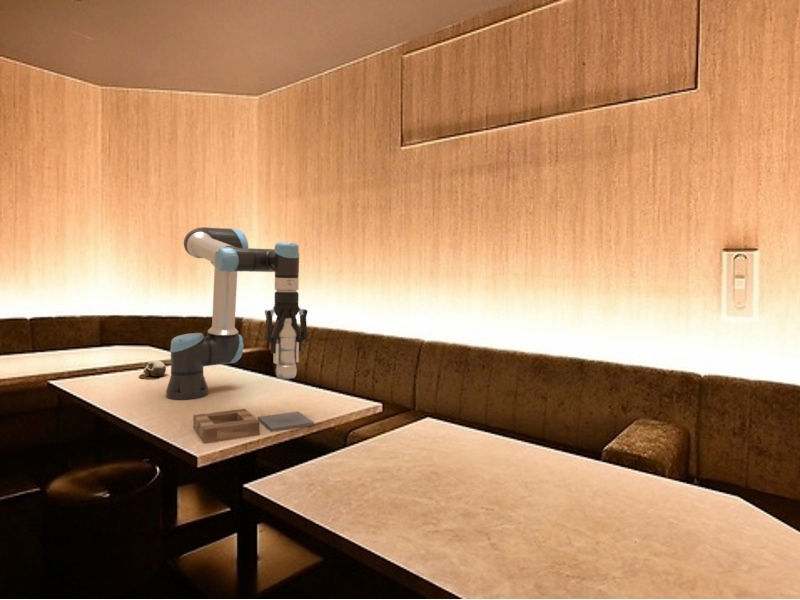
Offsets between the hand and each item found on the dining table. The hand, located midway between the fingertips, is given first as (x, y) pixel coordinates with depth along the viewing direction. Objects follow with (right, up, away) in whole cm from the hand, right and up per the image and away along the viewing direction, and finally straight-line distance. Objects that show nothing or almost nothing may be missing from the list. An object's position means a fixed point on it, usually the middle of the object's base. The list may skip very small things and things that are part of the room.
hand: (286, 362), depth 172 cm
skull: (-72, -14, +64) cm, 97 cm away
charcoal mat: (0, -20, +1) cm, 20 cm away
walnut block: (-17, -20, -9) cm, 27 cm away
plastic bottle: (0, -6, 0) cm, 6 cm away
